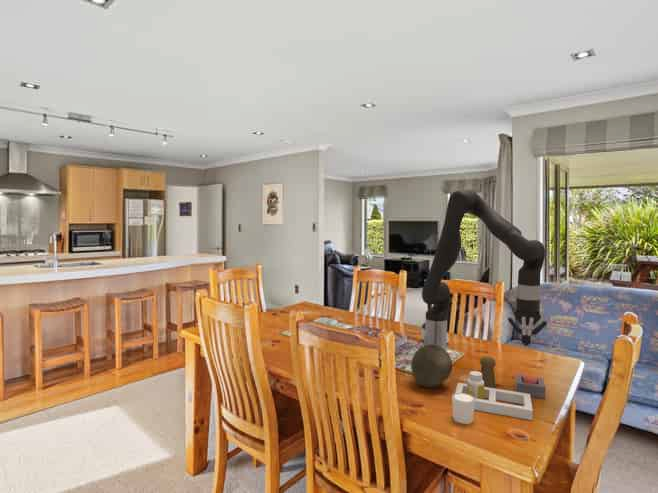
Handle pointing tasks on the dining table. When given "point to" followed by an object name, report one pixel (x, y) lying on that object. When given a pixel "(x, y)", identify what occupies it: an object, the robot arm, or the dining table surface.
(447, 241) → the robot arm
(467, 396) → the white cylinder
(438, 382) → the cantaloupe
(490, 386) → the olive gourd
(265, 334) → the dining table surface
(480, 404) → the window frame
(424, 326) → the spread jar
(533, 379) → the button
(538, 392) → the button housing
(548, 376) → the dining table surface
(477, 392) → the supplement bottle
